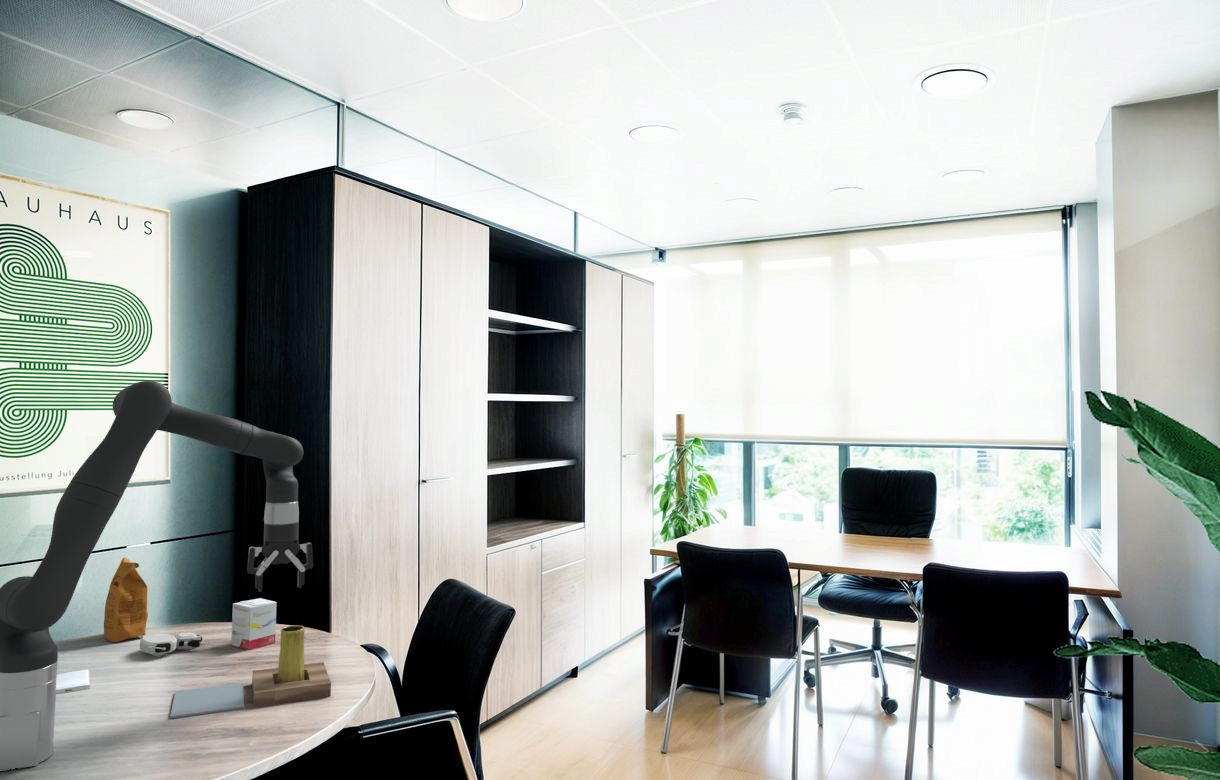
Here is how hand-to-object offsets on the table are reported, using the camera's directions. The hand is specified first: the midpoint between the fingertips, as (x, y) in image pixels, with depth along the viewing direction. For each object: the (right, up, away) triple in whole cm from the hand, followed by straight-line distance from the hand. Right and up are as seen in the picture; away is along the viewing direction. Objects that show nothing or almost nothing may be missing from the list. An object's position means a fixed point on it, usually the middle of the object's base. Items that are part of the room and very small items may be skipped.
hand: (280, 589), depth 177 cm
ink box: (-22, -24, +33) cm, 46 cm away
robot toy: (-41, -24, +25) cm, 54 cm away
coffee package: (-61, -24, +37) cm, 76 cm away
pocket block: (+3, -23, -2) cm, 23 cm away
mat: (-12, -23, -9) cm, 27 cm away
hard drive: (-50, -23, -1) cm, 55 cm away
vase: (+3, -23, -2) cm, 24 cm away
